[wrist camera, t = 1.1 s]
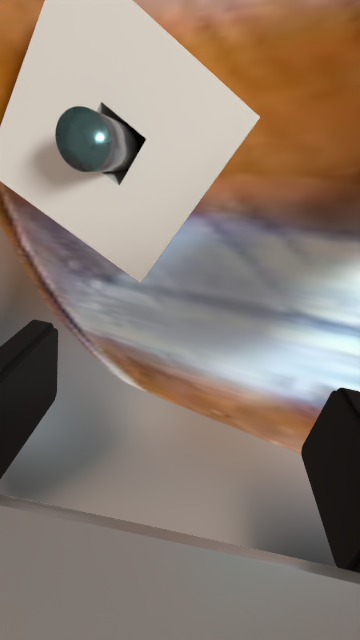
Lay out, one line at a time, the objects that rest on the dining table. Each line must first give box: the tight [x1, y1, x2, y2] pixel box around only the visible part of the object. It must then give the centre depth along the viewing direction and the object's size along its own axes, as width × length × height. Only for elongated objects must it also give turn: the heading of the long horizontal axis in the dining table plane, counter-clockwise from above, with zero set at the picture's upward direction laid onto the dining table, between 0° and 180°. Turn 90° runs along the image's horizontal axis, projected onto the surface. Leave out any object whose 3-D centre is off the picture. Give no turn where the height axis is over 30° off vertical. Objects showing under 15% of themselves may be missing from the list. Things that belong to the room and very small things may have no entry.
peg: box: [55, 106, 138, 172], centre depth 25 cm, size 4×4×8 cm
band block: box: [0, 0, 260, 283], centre depth 30 cm, size 18×18×8 cm
